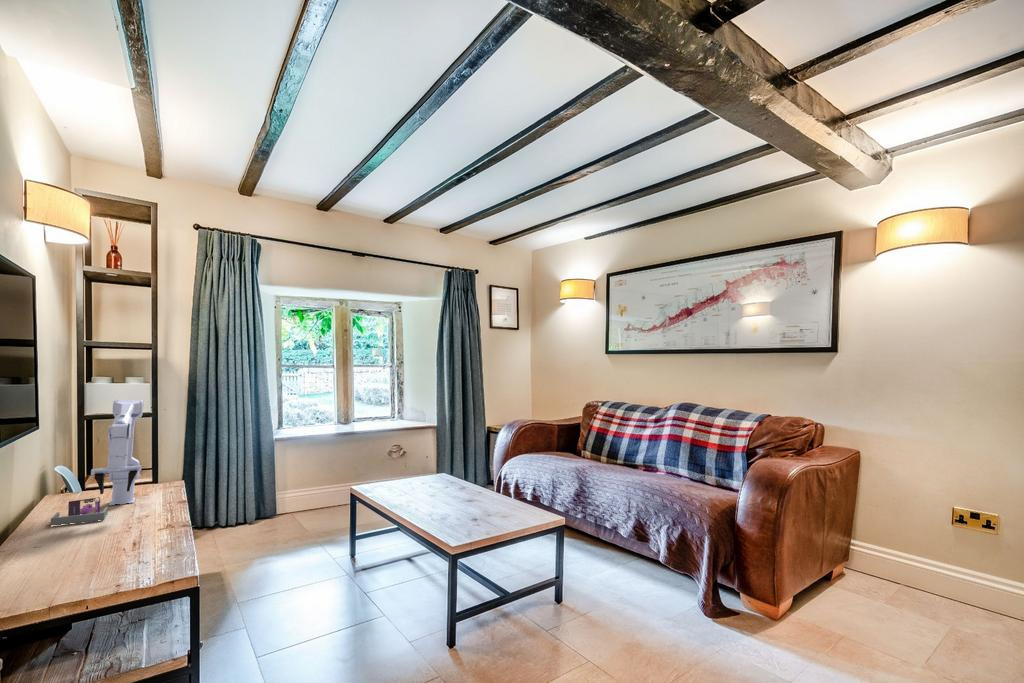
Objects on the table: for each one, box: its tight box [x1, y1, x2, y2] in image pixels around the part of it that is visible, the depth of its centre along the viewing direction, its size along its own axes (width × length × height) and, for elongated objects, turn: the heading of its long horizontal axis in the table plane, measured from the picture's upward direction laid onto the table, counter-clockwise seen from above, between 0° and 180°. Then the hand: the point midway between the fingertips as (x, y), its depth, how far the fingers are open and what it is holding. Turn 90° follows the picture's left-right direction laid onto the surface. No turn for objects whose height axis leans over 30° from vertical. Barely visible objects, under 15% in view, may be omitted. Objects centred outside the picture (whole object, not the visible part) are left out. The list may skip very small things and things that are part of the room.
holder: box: [49, 506, 109, 527], centre depth 176 cm, size 9×15×3 cm, turn 124°
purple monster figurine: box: [67, 497, 101, 516], centre depth 182 cm, size 7×5×9 cm
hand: (115, 492), depth 178 cm, fingers open, 7 cm apart
